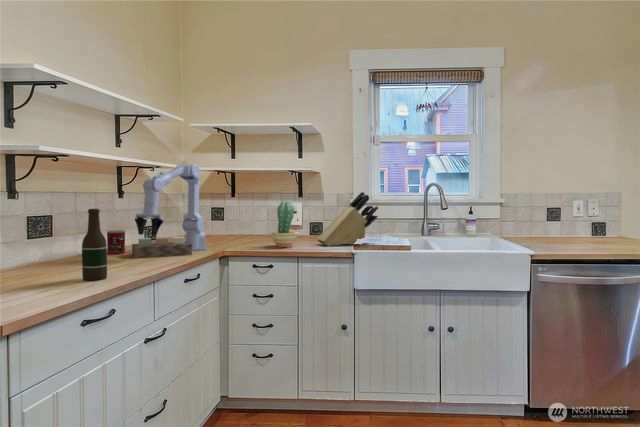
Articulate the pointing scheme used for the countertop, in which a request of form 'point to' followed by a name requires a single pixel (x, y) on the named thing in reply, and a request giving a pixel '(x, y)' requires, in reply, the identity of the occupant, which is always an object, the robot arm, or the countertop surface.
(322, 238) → the knife block
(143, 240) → the key green
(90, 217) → the beer bottle
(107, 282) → the countertop surface
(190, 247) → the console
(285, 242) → the potted cactus
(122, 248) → the canned food
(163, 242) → the key terracotta
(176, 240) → the key cream
